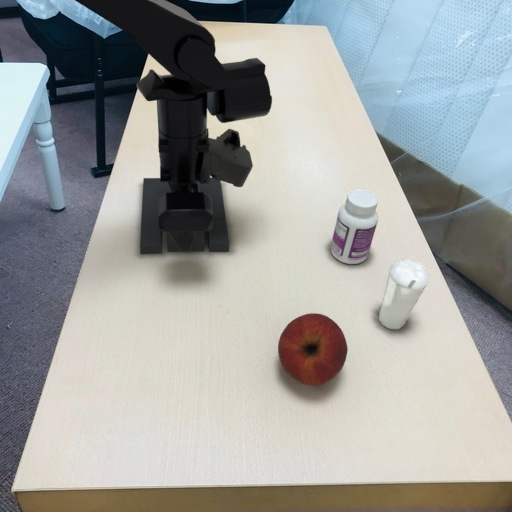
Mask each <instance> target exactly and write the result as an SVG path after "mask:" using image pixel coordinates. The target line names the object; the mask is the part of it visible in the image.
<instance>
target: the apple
mask: <svg viewBox="0 0 512 512" xmlns="http://www.w3.org/2000/svg"><path fill="white" fill-rule="evenodd" d="M277 344H278V345H277V352H278V358H279V361H280V363H281V365H282V367H283V369H284V370H285V372H287V374H288V375H289V376H290V377H292V378H293V379H294V380H296V381H298V382H300V383H301V384H304V385H308V386H314V387H315V386H321V385H325V384H327V383H329V382H330V381H332V380H333V379H335V378H336V376H337V375H339V373H340V372H341V370H342V369H343V368H344V366H345V363H346V360H347V356H348V350H349V349H348V343H347V340H346V337H345V334H344V332H343V330H342V328H341V327H340V326H339V324H338V323H337V322H335V320H333V319H332V318H330V317H329V316H327V315H325V314H322V313H315V312H314V313H313V312H311V313H306V314H305V313H304V314H302V315H300V316H297V317H296V318H294V319H292V320H291V321H290V322H289V323H288V324H287V325H286V326H285V327H284V329H283V330H282V332H281V334H280V337H279V338H278V343H277Z"/></svg>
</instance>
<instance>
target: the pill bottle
mask: <svg viewBox="0 0 512 512" xmlns="http://www.w3.org/2000/svg"><path fill="white" fill-rule="evenodd" d="M378 200H379V199H378V197H377V195H376V194H374V193H373V192H371V191H369V190H367V189H361V188H360V189H353V190H350V191H349V192H348V194H347V196H346V200H345V203H344V204H342V205H341V206H340V207H339V209H338V212H337V217H336V222H335V225H334V231H333V234H332V239H331V244H330V252H331V254H332V255H333V258H335V259H337V260H338V261H339V262H341V263H344V264H347V265H357V264H361V263H363V262H364V261H366V259H367V258H368V256H369V254H370V253H369V252H370V249H371V246H372V241H373V239H374V235H375V232H376V229H377V225H378V222H379V215H378V212H377V207H378V203H379V201H378Z"/></svg>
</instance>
